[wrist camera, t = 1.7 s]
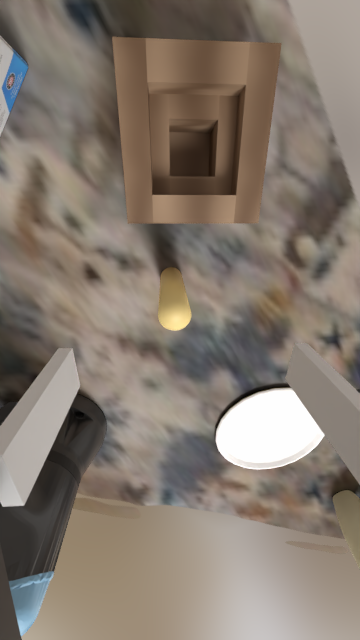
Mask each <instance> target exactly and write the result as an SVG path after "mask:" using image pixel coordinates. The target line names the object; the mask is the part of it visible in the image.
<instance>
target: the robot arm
mask: <svg viewBox="0 0 360 640" xmlns="http://www.w3.org/2000/svg"><path fill="white" fill-rule="evenodd" d="M285 380H286V381H287V383H288V384H289V385H290V387H291V388H292V390H293V391H294V392H295V394H296V395H297V397H298V398H299V400H300V401H301V402H302V404H303V405H304V407H305V408H306V409H307V411H308V412H309V414H310V415H311V417H312V418H313V419H314V421H315V422H316V424H317V425H318V426H319V428H320V429H321V431H322V432H323V434H324V435H325V436H326V438H327V439H328V441H329V442H330V443H331V445H332V446H333V448H334V449H335V451H336V452H337V453H338V455H339V456H340V458H341V459H342V460H343V462H344V463H345V465H346V466H347V468H348V469H349V470H350V472H351V473H352V475H353V476H354V477H355V479H356V480H357V482H358V483H359V484H360V389H358V390H356V389H355V388H354V387H353V386H352V385H350V384H349V383H348V382H347V381H346V380H345V379H344V378H343V377H342V376H341V375H340V374H339V373H338V372H337V371H336V370H335V369H334V368H333V367H331V366H330V365H329V364H328V363H327V362H326V361H325V360H324V359H323V358H322V357H321V356H320V355H319V354H318V353H317V352H316V351H315V350H314V349H313V348H311V347H310V346H309V345H308V344H307V343H294V347H293V351H292V355H291V359H290V363H289V367H288V371H287V375H286V379H285ZM79 387H80V382H79V377H78V372H77V368H76V363H75V358H74V353H73V348H58V350H57V351H56V352H55V354H54V355H53V356H52V358H51V359H50V360H49V362H48V363H47V364H46V366H45V367H44V368H43V370H42V371H41V372H40V374H39V375H38V376H37V378H36V379H35V380H34V382H33V383H32V384H31V386H30V387H29V388H28V390H27V391H26V392H25V394H24V395H23V397H22V398H21V399H20V401H19V402H9V403H7V404H6V405H5V406H3V407H2V408H1V409H0V640H22V639H21V636H22V635H23V634H25V633H26V632H27V631H28V629H29V628H30V627H31V626H32V624H33V623H34V621H35V619H36V617H37V615H38V613H39V610H40V607H41V605H42V602H43V599H44V596H45V593H46V590H47V588H48V585H49V582H50V580H51V579H52V577H53V574H54V569H55V566H56V562H57V559H58V555H59V552H60V549H61V545H62V542H63V538H64V535H65V531H66V528H67V524H68V521H69V518H70V514H71V510H72V507H73V504H74V500H75V497H76V494H77V490H78V487H79V483H80V480H81V477H82V476H83V474H84V473H85V471H86V470H87V468H88V467H89V465H90V464H91V462H92V461H93V459H94V458H95V456H96V455H97V453H98V451H99V450H100V448H101V446H102V444H103V441H104V438H105V434H106V430H107V423H106V419H105V417H104V415H103V413H102V411H101V410H100V409H99V408H98V407H97V406H96V405H95V404H94V403H93V402H92V401H90V400H89V399H87V398H85V397H83V396H81V395H79V394H77V392H78V390H79Z"/></svg>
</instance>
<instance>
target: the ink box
mask: <svg viewBox="0 0 360 640" xmlns="http://www.w3.org/2000/svg"><path fill="white" fill-rule="evenodd" d="M27 70H28V64H27V63H26V61H25V60H24V59H23V58H22V57H21V56H20V55H19V54H18V53H17V52H16V51H15V50H14V49H13V48H12V47H11V46H10V45H9V44H8V43H7V42H6V41H5V40H4V39H3V38H2V37H1V36H0V136H1V133H2V131H3V129H4V126H5V124H6V121H7V119H8V116H9V114H10V111H11V109H12V106H13V104H14V101H15V99H16V97H17V94H18V92H19V89H20V87H21V84H22V82H23V80H24V77H25V75H26V72H27Z"/></svg>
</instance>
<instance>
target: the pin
mask: <svg viewBox="0 0 360 640" xmlns="http://www.w3.org/2000/svg"><path fill="white" fill-rule="evenodd" d="M158 318H159V321H160V323H161V324H162V326H164V327H165V328H167V329H169V330H180V329H182V328H184V327H185V326H187V325H188V323H189V322H190V319H191V311H190V307H189V303H188V299H187V295H186V291H185V286H184V282H183V278H182V275H181V272H180V271H179V270H178V269H176V268H174V267H169V268H166V269H165V270H163V272H162V273H161V277H160V294H159V311H158Z"/></svg>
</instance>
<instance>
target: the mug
mask: <svg viewBox="0 0 360 640" xmlns="http://www.w3.org/2000/svg"><path fill="white" fill-rule="evenodd" d="M333 503H334V507H335V510H336V514H337V517H338V521H339V524H340V527H341V530H342V533H343V535H344V537H345V539H346V542H347V544H348V546H349V548H350V550H351V552H352V554H353V556H354V558H355V560H356V562H357V564H358V566H359V568H360V499H359V498H358V497H357V496H356V495H355V494H354V493H353V492H352V491H349V490H345V491H341V492H338V493H337V494H335V495H334V496H333Z"/></svg>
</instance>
